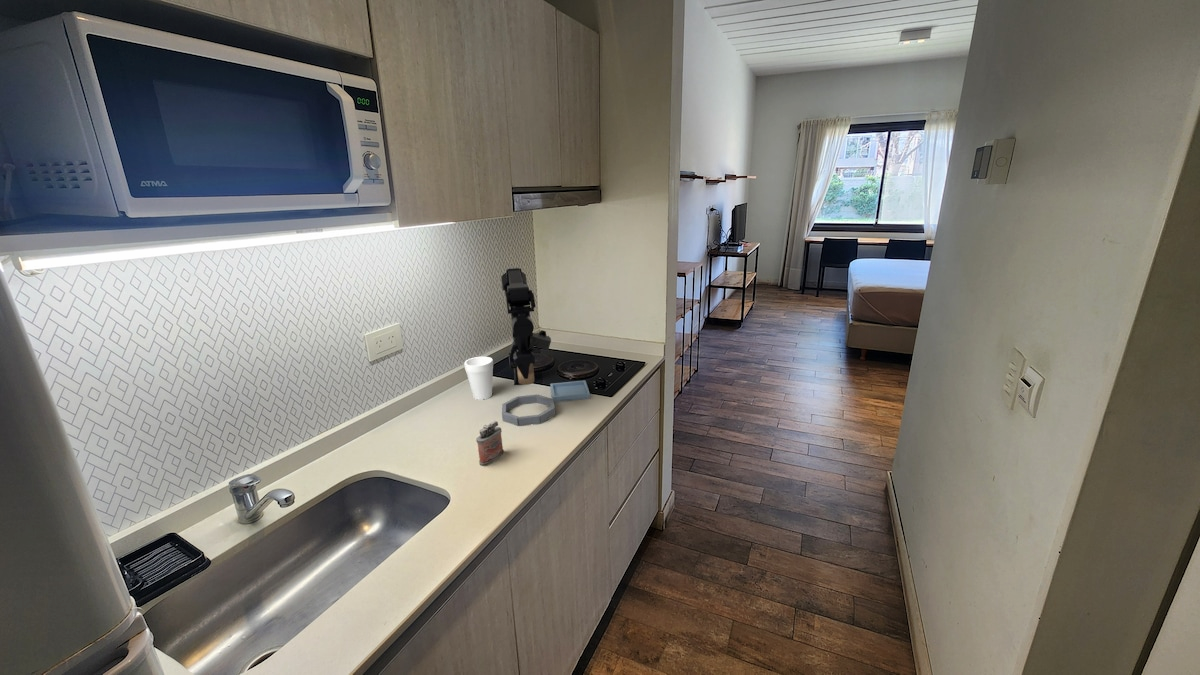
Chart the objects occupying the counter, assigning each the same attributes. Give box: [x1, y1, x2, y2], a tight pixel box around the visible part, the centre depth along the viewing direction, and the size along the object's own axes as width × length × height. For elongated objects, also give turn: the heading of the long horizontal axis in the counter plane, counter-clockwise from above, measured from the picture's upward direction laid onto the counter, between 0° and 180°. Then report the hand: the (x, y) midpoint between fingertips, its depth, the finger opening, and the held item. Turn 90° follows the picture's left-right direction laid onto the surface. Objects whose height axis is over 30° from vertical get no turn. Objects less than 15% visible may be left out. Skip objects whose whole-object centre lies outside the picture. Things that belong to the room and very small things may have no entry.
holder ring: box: [501, 393, 556, 427], centre depth 156 cm, size 16×16×2 cm
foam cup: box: [463, 356, 494, 401], centre depth 168 cm, size 10×9×13 cm
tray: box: [549, 380, 591, 403], centre depth 169 cm, size 12×13×2 cm
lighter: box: [475, 420, 505, 467], centre depth 130 cm, size 8×3×10 cm, turn 148°
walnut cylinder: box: [517, 363, 535, 386], centre depth 152 cm, size 5×5×7 cm
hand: (526, 375), depth 152 cm, fingers closed on walnut cylinder, 5 cm apart
